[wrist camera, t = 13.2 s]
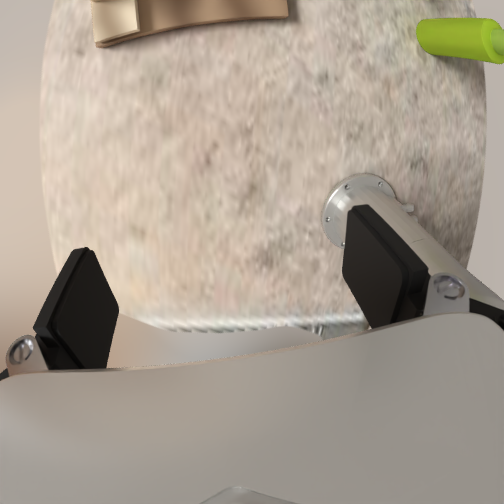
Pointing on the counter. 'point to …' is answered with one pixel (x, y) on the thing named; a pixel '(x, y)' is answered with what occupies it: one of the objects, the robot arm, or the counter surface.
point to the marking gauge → (114, 19)
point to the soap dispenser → (463, 38)
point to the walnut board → (198, 14)
